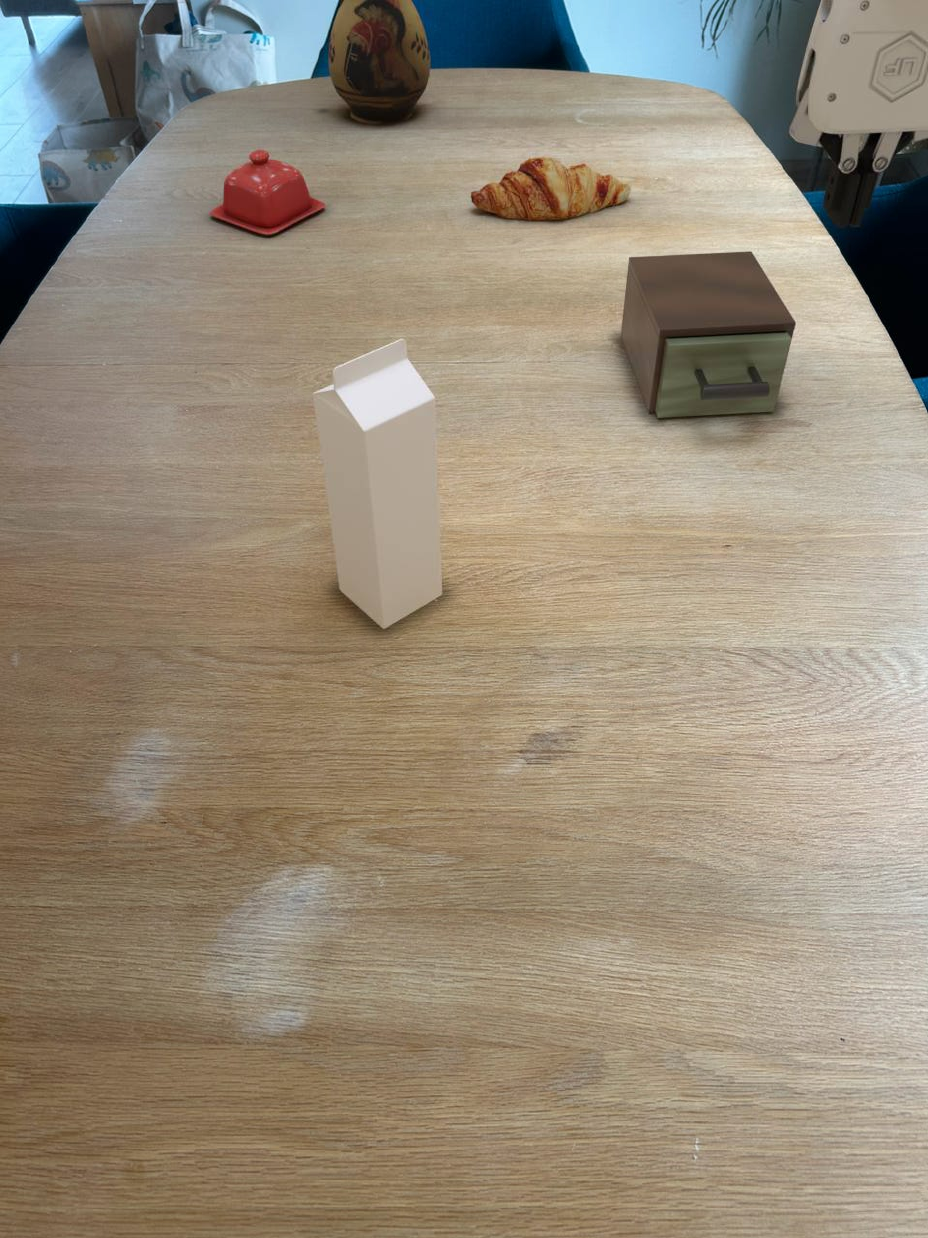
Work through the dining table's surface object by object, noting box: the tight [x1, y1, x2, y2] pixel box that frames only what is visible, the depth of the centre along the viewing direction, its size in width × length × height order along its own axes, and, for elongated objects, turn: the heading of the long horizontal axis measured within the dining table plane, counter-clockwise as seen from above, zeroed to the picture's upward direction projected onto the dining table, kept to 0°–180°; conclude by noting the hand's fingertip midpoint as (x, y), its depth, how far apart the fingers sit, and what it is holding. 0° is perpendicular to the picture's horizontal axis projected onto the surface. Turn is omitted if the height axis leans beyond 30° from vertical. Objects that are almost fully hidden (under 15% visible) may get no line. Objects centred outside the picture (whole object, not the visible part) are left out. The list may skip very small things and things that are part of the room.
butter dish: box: [209, 149, 326, 236], centre depth 128 cm, size 12×12×8 cm
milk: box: [312, 338, 443, 630], centre depth 73 cm, size 6×6×22 cm
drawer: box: [655, 332, 792, 419], centre depth 97 cm, size 18×11×8 cm, turn 5°
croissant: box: [470, 156, 632, 222], centre depth 130 cm, size 21×10×8 cm, turn 100°
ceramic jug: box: [328, 0, 431, 126], centre depth 146 cm, size 17×15×30 cm
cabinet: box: [620, 250, 797, 415], centre depth 100 cm, size 15×13×10 cm
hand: (842, 218), depth 76 cm, fingers closed
